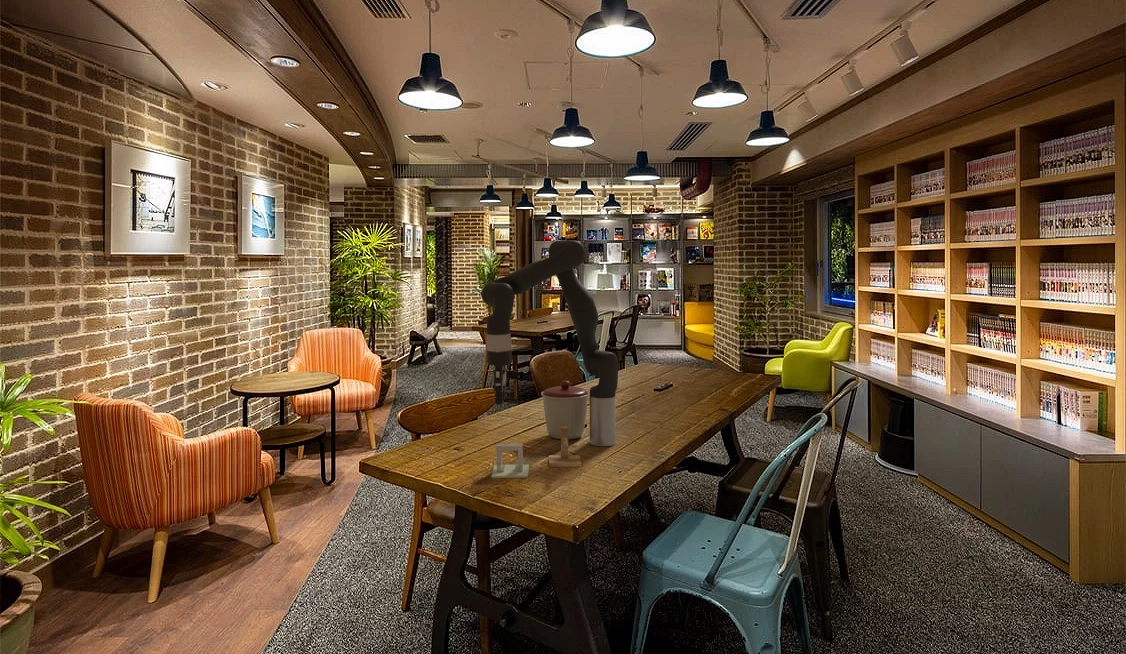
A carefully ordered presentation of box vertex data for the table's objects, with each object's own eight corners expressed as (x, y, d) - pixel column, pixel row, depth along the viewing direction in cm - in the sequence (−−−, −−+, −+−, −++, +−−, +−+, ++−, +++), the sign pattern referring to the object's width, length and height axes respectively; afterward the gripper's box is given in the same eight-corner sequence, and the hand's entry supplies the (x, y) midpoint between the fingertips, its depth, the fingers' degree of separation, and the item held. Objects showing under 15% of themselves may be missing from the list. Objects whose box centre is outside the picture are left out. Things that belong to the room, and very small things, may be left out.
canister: (590, 443, 229) (590, 385, 227) (540, 443, 230) (539, 385, 228) (589, 430, 247) (589, 376, 245) (542, 430, 248) (542, 376, 246)
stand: (549, 458, 212) (549, 425, 210) (579, 457, 212) (579, 425, 211) (549, 477, 193) (549, 441, 192) (582, 476, 193) (582, 441, 192)
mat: (494, 466, 203) (494, 464, 203) (529, 466, 203) (529, 464, 203) (491, 478, 192) (491, 476, 192) (527, 477, 192) (527, 475, 192)
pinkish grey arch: (497, 468, 199) (497, 443, 198) (523, 468, 199) (522, 443, 199) (496, 471, 196) (496, 446, 195) (522, 471, 196) (522, 446, 196)
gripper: (488, 345, 201) (490, 396, 203) (484, 352, 187) (485, 406, 188) (512, 345, 201) (513, 396, 203) (509, 351, 187) (511, 406, 189)
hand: (500, 401), depth 196 cm, fingers open, 8 cm apart
